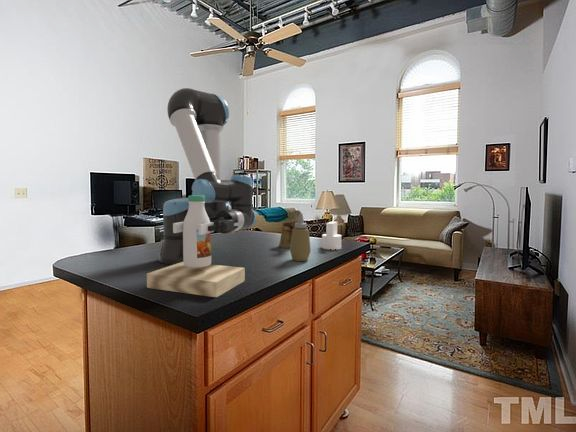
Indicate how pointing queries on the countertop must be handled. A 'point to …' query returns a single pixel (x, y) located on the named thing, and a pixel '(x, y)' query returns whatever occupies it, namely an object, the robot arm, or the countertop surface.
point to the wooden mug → (288, 230)
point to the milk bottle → (196, 234)
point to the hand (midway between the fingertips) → (186, 228)
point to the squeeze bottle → (300, 241)
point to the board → (196, 279)
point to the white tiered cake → (331, 237)
